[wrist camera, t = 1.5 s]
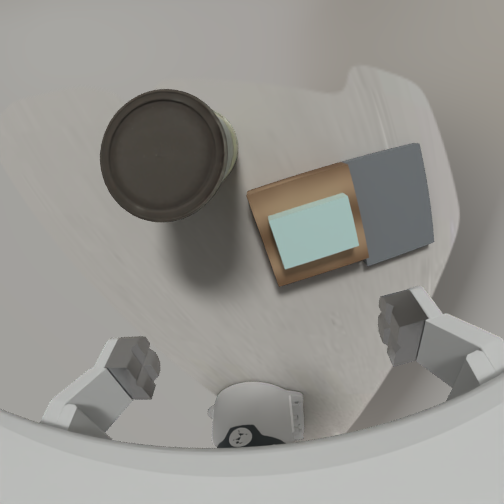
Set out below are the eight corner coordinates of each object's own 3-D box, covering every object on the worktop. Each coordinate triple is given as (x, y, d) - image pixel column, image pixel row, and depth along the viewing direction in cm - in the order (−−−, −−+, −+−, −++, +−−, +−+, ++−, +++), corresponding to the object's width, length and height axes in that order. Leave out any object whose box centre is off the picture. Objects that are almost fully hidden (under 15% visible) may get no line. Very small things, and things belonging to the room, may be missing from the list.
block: (353, 239, 33) (359, 245, 32) (283, 262, 35) (285, 269, 33) (342, 192, 31) (347, 196, 29) (267, 216, 33) (268, 221, 31)
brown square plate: (361, 248, 37) (369, 257, 34) (277, 275, 39) (279, 286, 36) (340, 162, 33) (347, 164, 30) (247, 191, 34) (246, 195, 32)
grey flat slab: (429, 238, 36) (434, 242, 35) (364, 261, 38) (367, 266, 36) (413, 143, 31) (419, 143, 30) (340, 162, 33) (344, 163, 31)
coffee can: (171, 201, 35) (124, 238, 22) (146, 125, 31) (85, 122, 18) (249, 176, 34) (245, 200, 21) (225, 96, 30) (204, 68, 17)
